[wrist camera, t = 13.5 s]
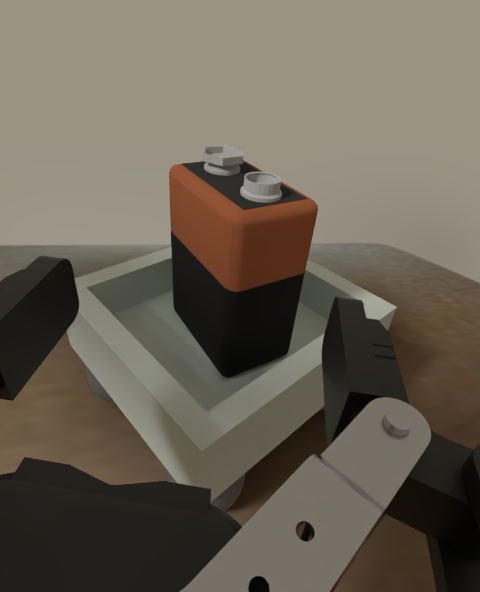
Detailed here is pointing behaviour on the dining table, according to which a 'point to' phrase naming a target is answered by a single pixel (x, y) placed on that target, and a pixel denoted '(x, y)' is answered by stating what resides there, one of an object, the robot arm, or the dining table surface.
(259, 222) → the battery
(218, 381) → the cart
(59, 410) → the dining table surface
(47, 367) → the dining table surface
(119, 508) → the robot arm
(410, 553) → the dining table surface
